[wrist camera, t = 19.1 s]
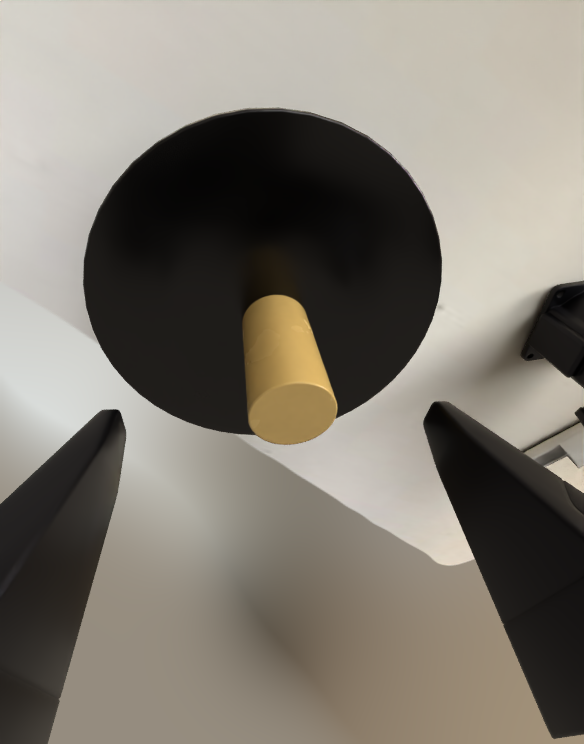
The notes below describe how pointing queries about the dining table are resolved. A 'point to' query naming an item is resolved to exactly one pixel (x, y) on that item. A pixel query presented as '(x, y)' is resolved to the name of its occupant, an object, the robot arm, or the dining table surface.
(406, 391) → the dining table surface
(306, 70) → the dining table surface
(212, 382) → the tin lid
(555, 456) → the grey notched bar
